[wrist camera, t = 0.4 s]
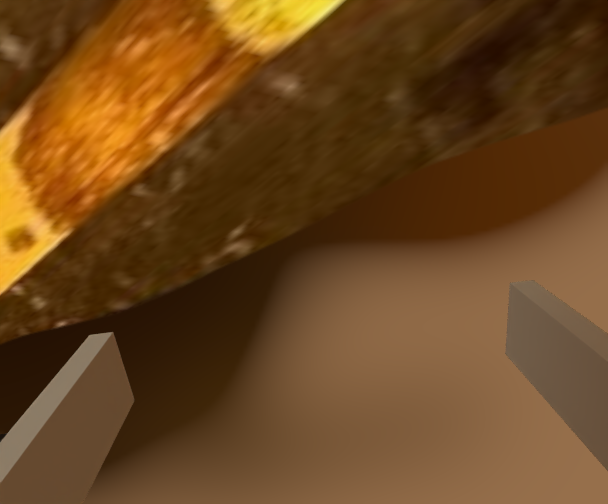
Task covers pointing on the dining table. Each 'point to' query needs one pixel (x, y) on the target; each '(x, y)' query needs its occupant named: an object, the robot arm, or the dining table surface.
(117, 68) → the dining table surface
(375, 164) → the dining table surface
